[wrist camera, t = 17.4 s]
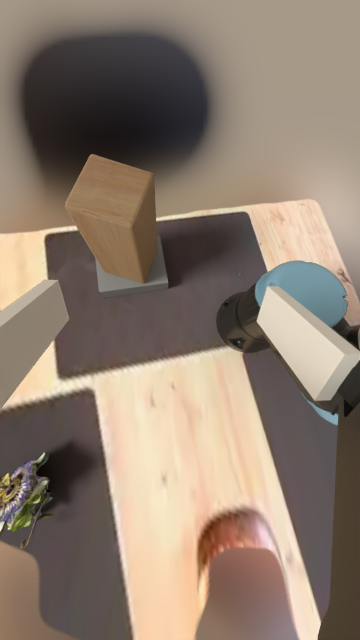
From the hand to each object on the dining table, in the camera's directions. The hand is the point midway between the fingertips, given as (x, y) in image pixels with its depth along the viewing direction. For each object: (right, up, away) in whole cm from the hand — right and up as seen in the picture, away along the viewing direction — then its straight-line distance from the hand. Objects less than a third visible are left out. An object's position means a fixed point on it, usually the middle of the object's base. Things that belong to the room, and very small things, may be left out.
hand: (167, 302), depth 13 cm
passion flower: (-27, -34, +27) cm, 51 cm away
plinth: (-11, +12, +38) cm, 42 cm away
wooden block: (-11, +13, +35) cm, 39 cm away
